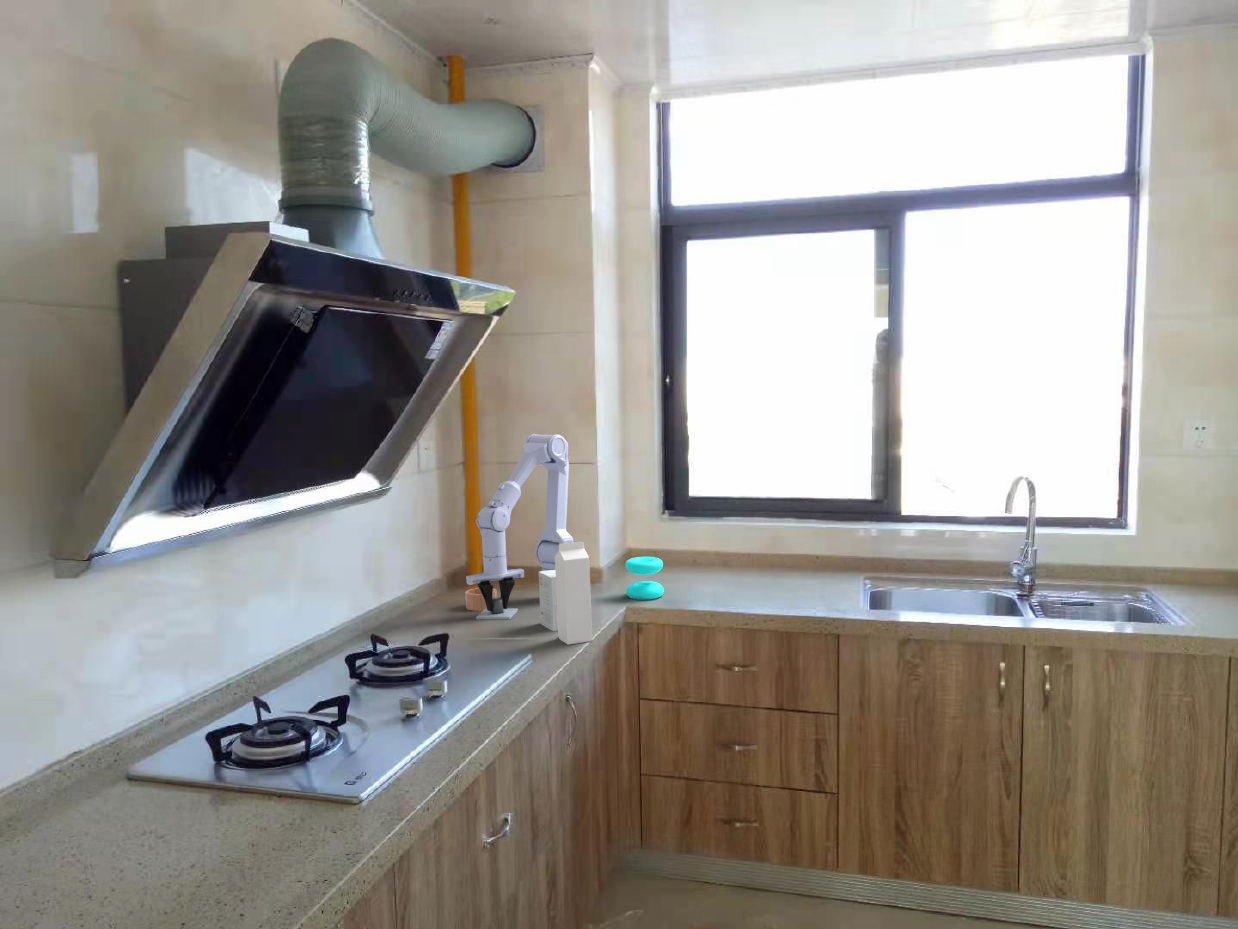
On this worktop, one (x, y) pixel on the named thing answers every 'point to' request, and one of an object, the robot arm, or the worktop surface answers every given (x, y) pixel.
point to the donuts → (644, 588)
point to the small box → (548, 599)
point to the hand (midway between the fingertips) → (497, 609)
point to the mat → (499, 619)
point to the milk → (573, 593)
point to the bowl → (476, 599)
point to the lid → (497, 611)
